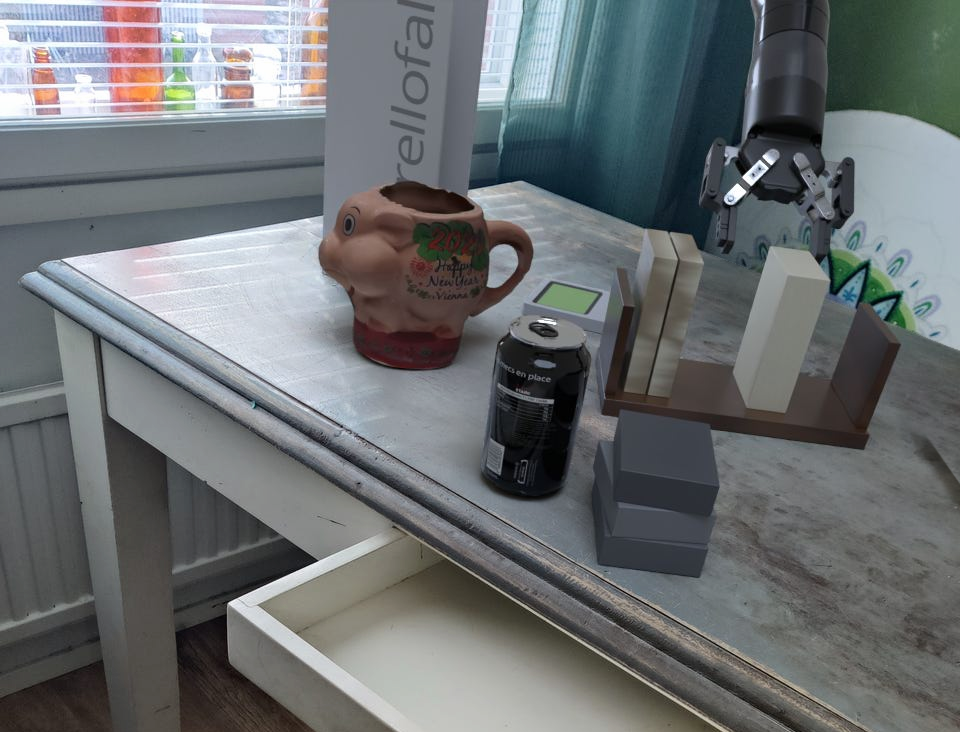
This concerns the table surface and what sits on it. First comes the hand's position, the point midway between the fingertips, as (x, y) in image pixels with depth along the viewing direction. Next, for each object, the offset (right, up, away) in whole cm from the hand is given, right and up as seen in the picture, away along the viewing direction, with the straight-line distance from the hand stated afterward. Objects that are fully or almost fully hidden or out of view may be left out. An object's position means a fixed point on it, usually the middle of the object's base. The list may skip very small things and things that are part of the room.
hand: (771, 256), depth 93 cm
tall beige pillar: (-2, -13, -1) cm, 13 cm away
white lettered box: (-38, +2, +13) cm, 40 cm away
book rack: (-5, -14, 0) cm, 15 cm away
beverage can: (-24, -24, -17) cm, 38 cm away
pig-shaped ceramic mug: (-33, -9, +1) cm, 34 cm away
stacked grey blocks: (-16, -28, -21) cm, 39 cm away
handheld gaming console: (-15, -1, +14) cm, 21 cm away
